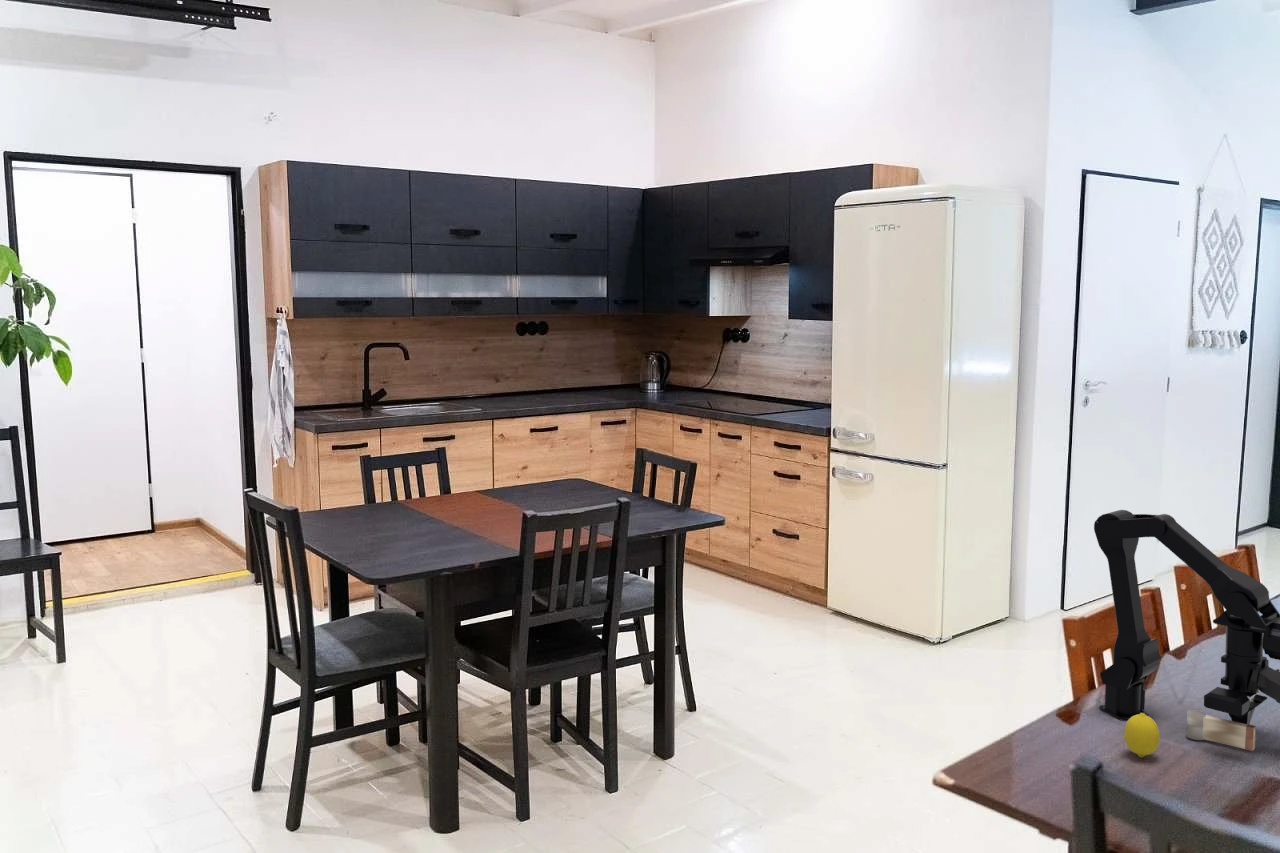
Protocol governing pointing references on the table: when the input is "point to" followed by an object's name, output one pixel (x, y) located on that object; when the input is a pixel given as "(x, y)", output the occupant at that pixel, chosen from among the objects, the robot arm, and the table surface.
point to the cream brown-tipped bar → (1220, 730)
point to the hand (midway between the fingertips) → (1242, 735)
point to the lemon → (1141, 734)
